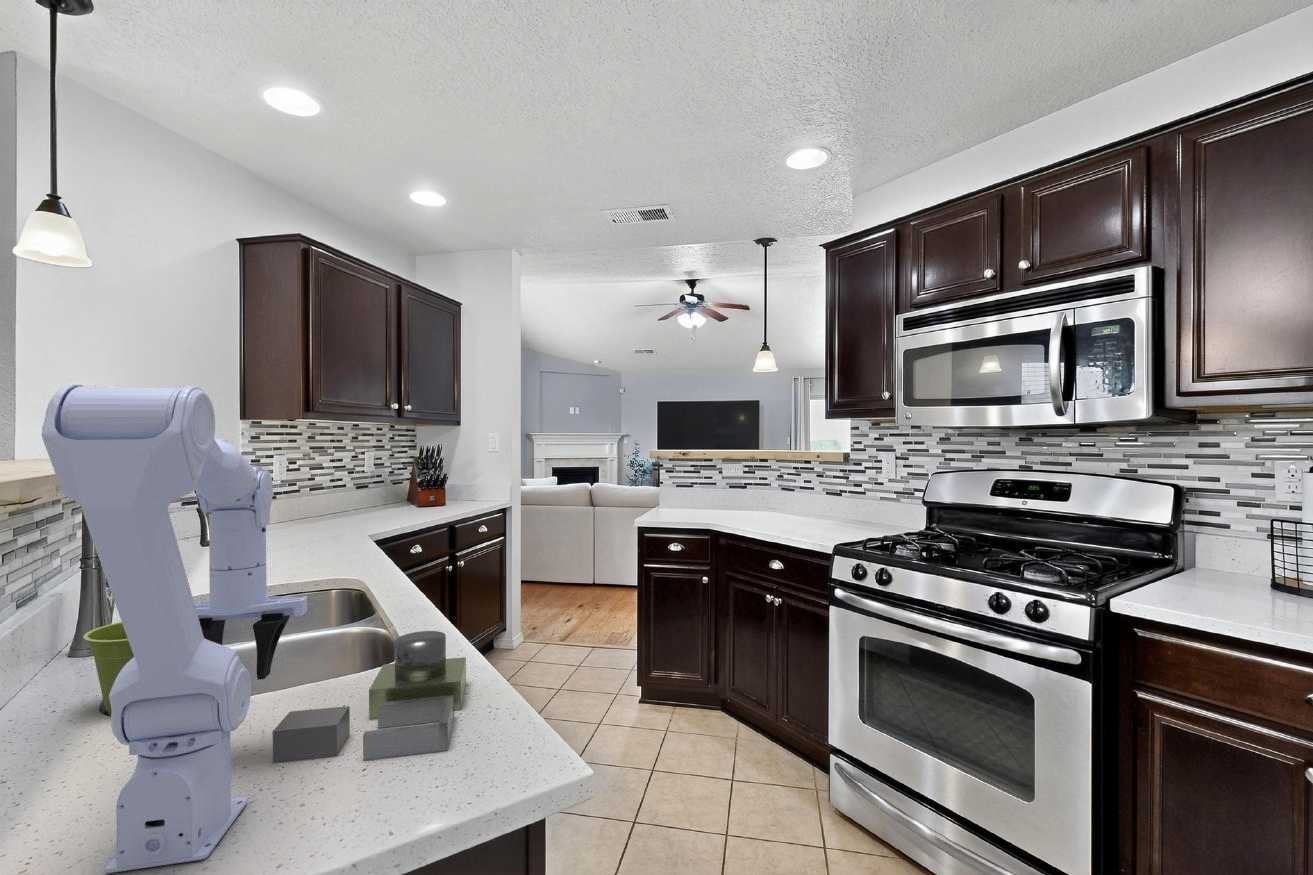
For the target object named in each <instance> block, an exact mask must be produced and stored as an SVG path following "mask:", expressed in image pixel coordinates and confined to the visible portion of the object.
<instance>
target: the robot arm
mask: <svg viewBox="0 0 1313 875" xmlns="http://www.w3.org/2000/svg"><path fill="white" fill-rule="evenodd" d="M44 416H45V417H44V421H43V423H42V428H41V437H42V442H43V444H44V447H45V449H46V452H47V454H48V458H49V460H50V464H51V466H52V469H53V472H54V473H55V476H56V478H57V480H58V483H59V485H60V489H61V491H62V494H63V495H64V496H66V497H68V498H70V499H72V500H73V501H75V502H78V503H80V505H81V506H80V507H81V511H82V514H83V517H84V520H85V522H86V526H87V529H88V531H89V535H90V537H91V540H92V544H93V546H94V548H95V551H96V554H97V556H98V559H99V562H100V564H101V565H100V566H101V568H102V571H103V574H104V576H105V579H106V582H107V584H108V588H109V590H110V593H111V595H112V598H113V602H114V604H115V607H116V610H117V613H118V615H119V618H120V620H121V621H120V622H122V624H123V627H124V629H125V632H126V635H127V638H128V641H129V643H130V646H131V649H132V652H133V655H134V658H132V659H131V660H130V661H129V662H128V663H127V664H126V665H125V666H124V667H123V668H122V670H121V671H120V673H119V674H118V676H117V678H116V680H115V682H114V684H113V686H112V689H111V691H110V694H109V700H110V704H111V710H112V713H110V725H111V726H110V727H111V731H112V733H113V734H112V735H114V737H115V738H116V740H117V742H118V743H119V744H121V745H123V746H128V755H129V756H135V755H137V760H136V761H137V762H136V766H135V769H134V772H133V774H132V776H131V777H130V779H129V780H128V781H127V782H126V784H124V786H123V788H122V789H121V790H120V792H119V794H118V798H117V799H116V800H117V801H116V807H115V808H116V815H115V816H116V819H115V820H116V822H115V823H116V855H115V856H113V858H112V859H111V860H110V861H109V862H108V863H107V864H106V865H105V867H104V873H105V874H113V873H118V872H125V871H132V870H138V869H145V868H153V867H160V866H167V865H173V864H180V863H186V862H193V861H200V860H204V859H206V858H208V856H210V855H211V853H212V852H213V850H214V848H215V847H216V846H217V845H218V843H219V842H220V841H221V839H222V838H223V836H224V835H225V834H226V832H227V831H228V830H229V828H230V827H231V825H232V824H233V823H234V821H235V820H236V819H237V817H238V816H239V815H240V813H241V812H242V810H243V809H244V807H245V806H246V805H247V804H248V803H249V802H248V799H249V798H248V797H243V796H242V797H237V798H232V781H231V780H232V776H231V775H232V774H231V772H232V768H231V766H232V764H231V763H232V762H231V761H232V760H231V759H232V758H231V756H232V755H231V750H232V749H231V748H232V747H231V732H234V731H235V730H237V729H238V728H239V726H240V725H242V724H243V722H244V721H245V719H246V716H247V714H248V711H249V706H250V702H251V695H252V681H251V675H250V672H249V670H248V669H247V668H246V667H245V666H244V665H243V664H242V661H241V659H240V657H239V655H238V652H237V650H236V649H235V648H234V649H233V648H230V647H229V646H228V647H227V646H226V645H223V638H224V631H225V624H226V620H237V619H238V620H239V619H253V618H260V619H259V620H257V621H255V622H254V623H253V624H252V630H253V635H254V638H255V646H256V677H257V679H256V680H260V681H261V680H265V679H266V678H267V677H268V676H269V675H271V668H272V665H273V664H272V663H273V658H274V656H275V652H276V648H277V646H278V643H279V640H280V638H281V635H282V633H283V631H284V630H285V627H286V625H287V623H288V622H289V620H290V618H291V616H293V617H302V616H304V615H305V614H307V612H308V596H307V595H306V596H271V595H270V596H267V594H268V590H267V526H269V525H270V521H271V506H272V502H273V497H274V496H273V495H274V494H273V493H274V485H273V483H274V482H273V478H272V475H271V472H270V471H269V470H264V468H262V466H252V465H251V464H250V463H249V462H248V461H247V460H246V458H245V457H244V456H243V455H242V454H241V453H240V452H239V451H238V449H237V448H236V447H235V446H234V445H232V444H231V443H230V442H228V440H227V439H225V438H215V435H216V434H215V433H216V415H215V409H214V406H213V402H212V400H211V398H210V397H209V396H208V395H207V393H206V392H205V391H204V389H202V388H201V387H199V386H196V385H186V386H185V387H155V386H154V387H152V386H150V387H149V386H148V387H147V386H144V387H141V386H139V387H138V386H84V385H82V384H73V383H71V384H66V385H64V386H61V388H59V390H57V391H56V392H55V394H54V395H53V396H52V397H51V399H50V401H49V403H48V404H47V408H46V410H45V415H44ZM192 492H195V495H196V498H197V500H198V501H199V506H200V510H201V512H202V513H203V515H207V516H208V537H209V540H208V542H209V543H208V544H209V545H208V546H209V547H208V548H209V550H208V552H209V554H208V555H209V556H208V557H209V562H208V563H209V566H208V567H209V570H208V571H209V600H207V601H198V602H195V601H194V598H193V594H192V591H191V586H190V583H189V581H188V577H187V573H186V569H185V564H184V562H183V559H182V555H181V552H180V548H179V545H178V541H177V537H176V533H175V531H174V526H173V523H172V519H171V516H170V515H171V514H170V513H169V512H170V511H169V509H168V508H169V506H170V504H171V503H173V502H175V501H177V500H179V499H181V498H183V497H185V496H188V495H189V494H191V493H192Z"/></svg>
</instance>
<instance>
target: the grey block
mask: <svg viewBox="0 0 1313 875" xmlns="http://www.w3.org/2000/svg"><path fill="white" fill-rule="evenodd" d="M350 710H351V708H350V705H348V706H347V705H345V706H334V707H326V708H325V707H324V708H315V709H314V708H313V709H303V710H293V711H292V710H291V711H289V712H288V713H287V714H286V715H285V717H283V719H282V720H281V721H279V723H278V724H277V726H276V727H275V728H274V729H273V730H272V764H280V763H290V762H292V763H293V762H297V761H298V762H299V761H301V762H302V761H309V760H318V759H327V758H336V757H338V756H339V755H340V753H341V751H342V749H343V748H344V746H345V745H346V743H347V741H348V740H349V738H350V736H351V733H350V732H351V729H350V728H351V725H350V724H351V723H350V722H351V720H350V716H351V715H350V714H351V712H350Z"/></svg>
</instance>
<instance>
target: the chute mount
mask: <svg viewBox="0 0 1313 875" xmlns="http://www.w3.org/2000/svg"><path fill="white" fill-rule="evenodd" d="M446 637H447V636H446V634H445V633H444V632H442V631H439V630H438V631H437V630H424V631H422V630H421V631H414V632H410V633H405V634H403V635H401V636H398V637H396V639H395V640H394V662H393V663H384V664H382V667H381V668H380V670H379V672H378V673H377V675H376V677H375V679H374V680H373V682H372V684H371V685H370V687H369V689H368V716H369V717H368V718H369V720H375V719H377V726H378V727H377V728H378V729H375V730H365V731H364V732H363V734H362V760H363V762H364V761H370V760H378V759H380V760H381V759H388V758H395V757H403V756H411V755H421V754H422V755H423V754H428V753H437V752H446V751H448V749H449V745H450V739H451V734H452V730H453V725H454V720H455V711H460V710H462V707H463V702H464V696H465V691H466V687H467V686H466V685H467V657H463V656H462V657H454V658H447V649H446V648H447V642H446V639H447V638H446ZM465 686H466V687H465Z"/></svg>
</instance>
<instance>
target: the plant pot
mask: <svg viewBox="0 0 1313 875" xmlns="http://www.w3.org/2000/svg"><path fill="white" fill-rule="evenodd" d="M82 638H83V640H84V641H85V642H87V643H88V645H89V649H90V653H91V656H93V659H94V662H95V669H96V673H97V677H98V681H99V686H100V691H101V696H102V701H103V706H104V708H105V711H106V712H107V713H109V714H111V713H112V710H111V704H110V700H109V694H110V691H111V689H112V686H113V684H114V682H115V680H116V678H117V676H118V674H119V673H120V671H121V670H122V668H123V667H124V666H125V665H126V664H127V663H128V662H129V661H130V660H131V659H132V658H134V655H133V652H132V649H131V646H130V643H129V641H128V638H127V635H126V632H125V629H124V627H123V624H122V621H118V622H113V623H110V624H107V625H103V626H100V627H95V628H94V629H91V630H89V631H88V632H86V633H85V634H84V635H83V636H82Z"/></svg>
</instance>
